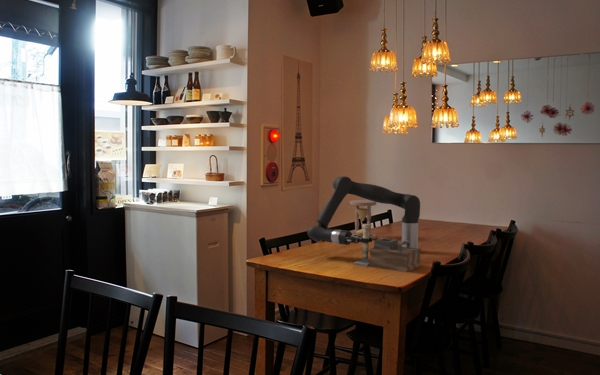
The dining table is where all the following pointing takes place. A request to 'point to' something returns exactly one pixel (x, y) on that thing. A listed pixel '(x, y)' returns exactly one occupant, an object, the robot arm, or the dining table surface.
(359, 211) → the hourglass
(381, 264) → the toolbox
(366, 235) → the pin
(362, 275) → the dining table surface
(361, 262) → the mat
